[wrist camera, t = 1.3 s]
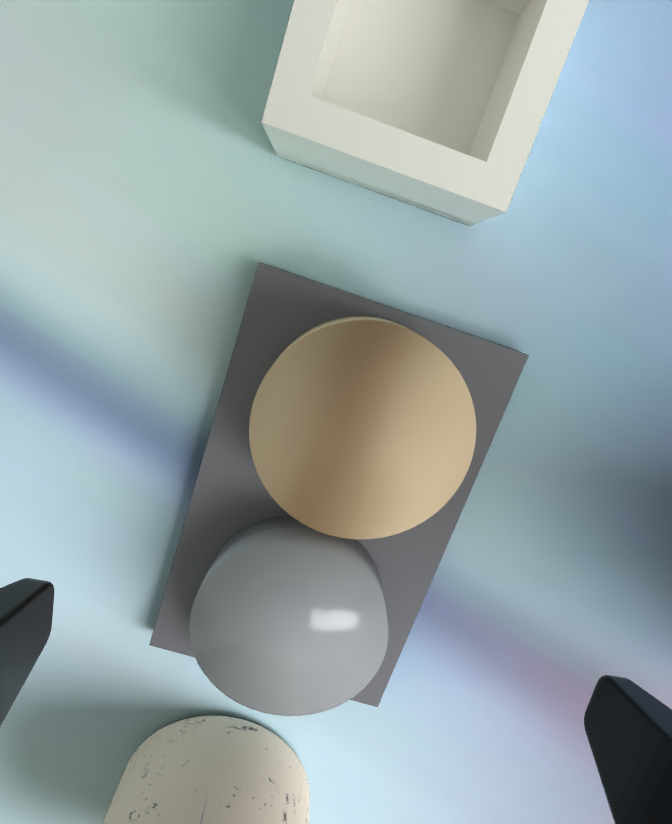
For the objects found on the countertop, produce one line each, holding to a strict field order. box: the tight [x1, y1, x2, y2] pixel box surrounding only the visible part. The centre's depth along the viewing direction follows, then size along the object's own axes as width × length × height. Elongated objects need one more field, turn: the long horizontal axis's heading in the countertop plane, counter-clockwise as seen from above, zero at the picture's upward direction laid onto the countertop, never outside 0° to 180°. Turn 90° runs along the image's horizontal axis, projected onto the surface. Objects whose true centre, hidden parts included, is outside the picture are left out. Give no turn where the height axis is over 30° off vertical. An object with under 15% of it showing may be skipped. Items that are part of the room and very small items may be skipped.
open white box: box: [262, 0, 589, 226], centre depth 15 cm, size 7×7×4 cm
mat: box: [149, 263, 529, 707], centre depth 20 cm, size 10×16×1 cm, turn 162°
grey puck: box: [189, 516, 388, 716], centre depth 20 cm, size 7×7×2 cm
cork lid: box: [249, 316, 476, 539], centre depth 18 cm, size 7×7×3 cm
